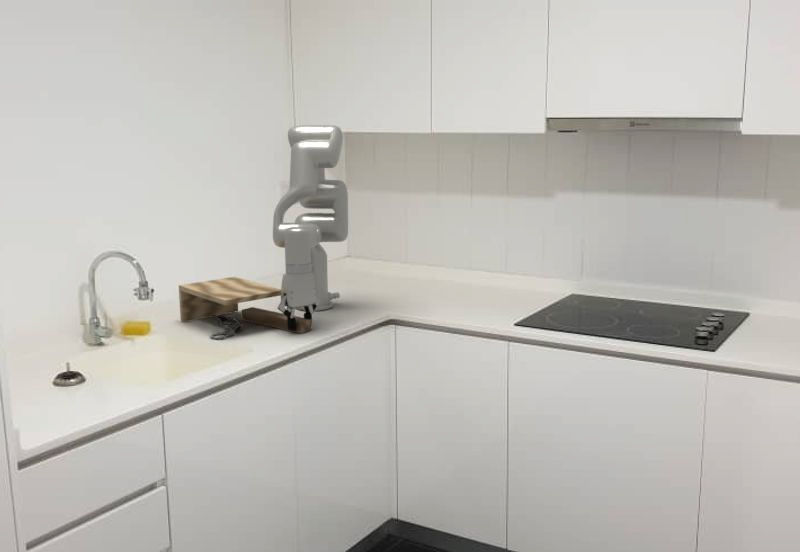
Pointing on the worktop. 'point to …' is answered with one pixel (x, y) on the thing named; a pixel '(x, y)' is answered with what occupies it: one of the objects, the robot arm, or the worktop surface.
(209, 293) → the riser
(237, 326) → the grey crescent piece
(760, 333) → the worktop surface
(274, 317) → the batten
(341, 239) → the robot arm
